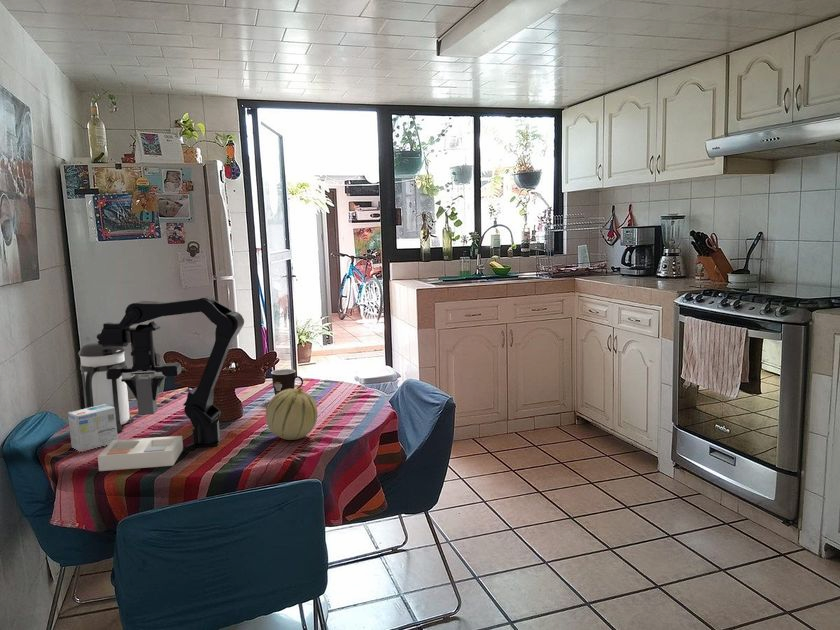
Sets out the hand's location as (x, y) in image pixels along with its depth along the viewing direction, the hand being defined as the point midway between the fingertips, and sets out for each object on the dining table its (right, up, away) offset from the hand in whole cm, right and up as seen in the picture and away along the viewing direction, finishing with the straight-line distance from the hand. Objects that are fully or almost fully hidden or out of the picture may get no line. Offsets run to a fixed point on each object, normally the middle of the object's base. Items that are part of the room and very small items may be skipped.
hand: (147, 400), depth 174 cm
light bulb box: (-16, -13, +2) cm, 21 cm away
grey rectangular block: (0, -4, +1) cm, 4 cm away
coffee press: (-19, -11, +16) cm, 28 cm away
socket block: (+3, -14, -10) cm, 18 cm away
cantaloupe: (+40, -12, +5) cm, 43 cm away
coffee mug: (+30, -6, +46) cm, 55 cm away
